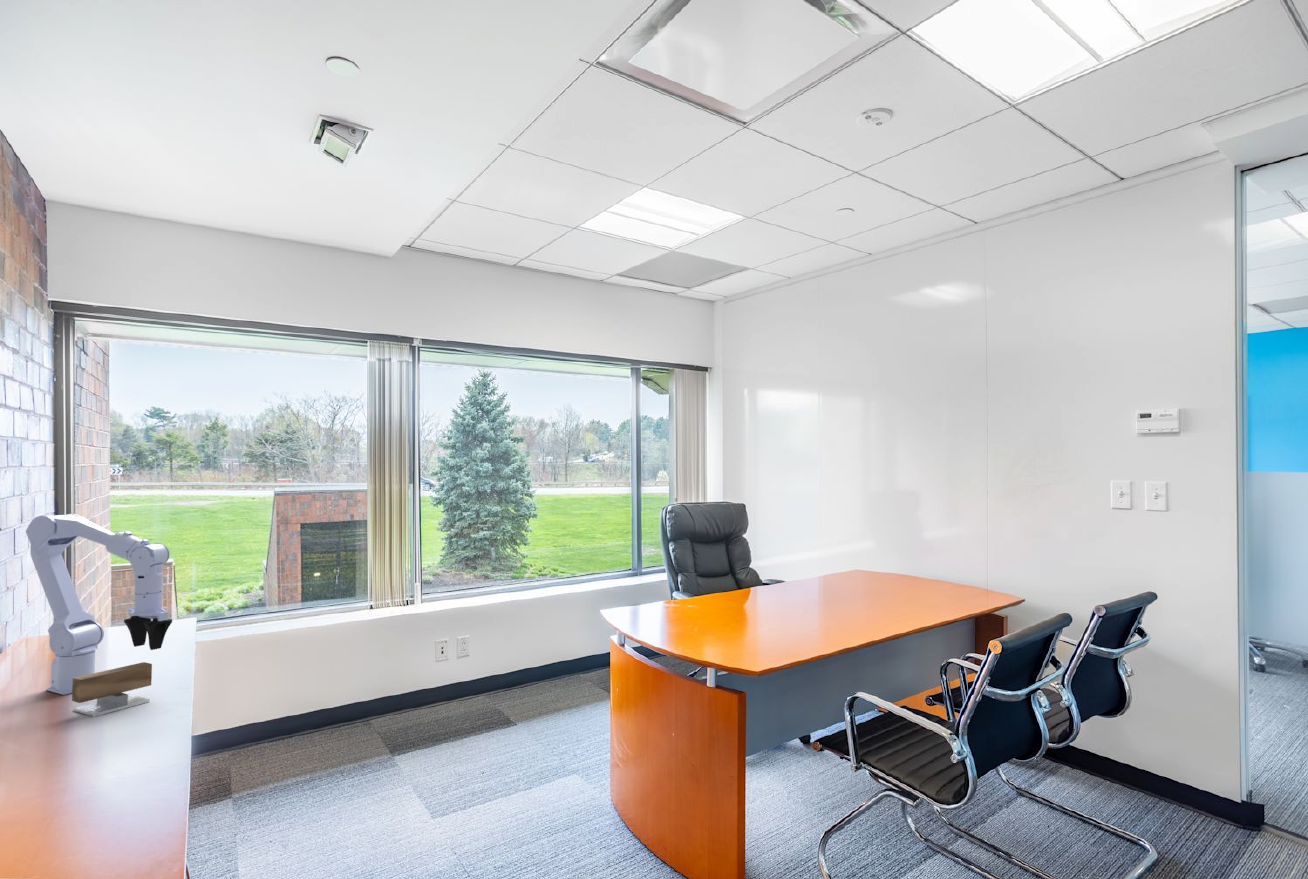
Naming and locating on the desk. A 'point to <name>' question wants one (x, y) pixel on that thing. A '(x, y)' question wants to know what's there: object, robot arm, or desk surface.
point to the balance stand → (111, 704)
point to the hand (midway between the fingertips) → (147, 647)
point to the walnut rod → (111, 682)
